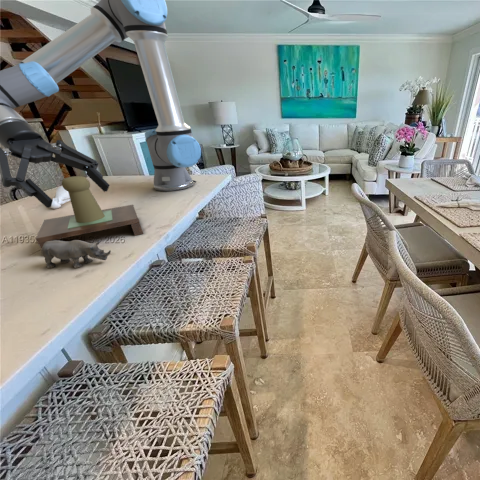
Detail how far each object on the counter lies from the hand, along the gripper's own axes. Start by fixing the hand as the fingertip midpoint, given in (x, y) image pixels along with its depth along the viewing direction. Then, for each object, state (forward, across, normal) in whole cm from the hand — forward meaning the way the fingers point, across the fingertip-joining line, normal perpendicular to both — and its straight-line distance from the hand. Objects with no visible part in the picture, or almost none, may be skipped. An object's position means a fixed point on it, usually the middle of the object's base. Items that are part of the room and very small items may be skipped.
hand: (81, 195), depth 68 cm
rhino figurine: (+17, +12, +1) cm, 21 cm away
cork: (+5, 0, -4) cm, 6 cm away
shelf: (+8, 0, -8) cm, 11 cm away
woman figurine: (-20, -16, -36) cm, 44 cm away
